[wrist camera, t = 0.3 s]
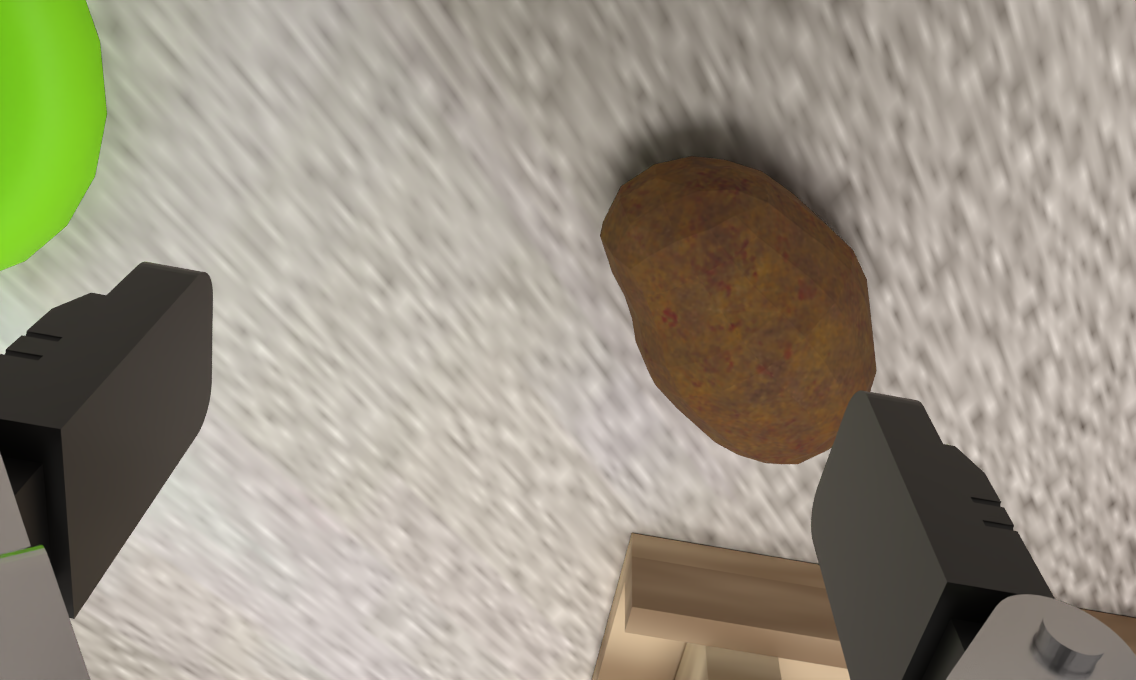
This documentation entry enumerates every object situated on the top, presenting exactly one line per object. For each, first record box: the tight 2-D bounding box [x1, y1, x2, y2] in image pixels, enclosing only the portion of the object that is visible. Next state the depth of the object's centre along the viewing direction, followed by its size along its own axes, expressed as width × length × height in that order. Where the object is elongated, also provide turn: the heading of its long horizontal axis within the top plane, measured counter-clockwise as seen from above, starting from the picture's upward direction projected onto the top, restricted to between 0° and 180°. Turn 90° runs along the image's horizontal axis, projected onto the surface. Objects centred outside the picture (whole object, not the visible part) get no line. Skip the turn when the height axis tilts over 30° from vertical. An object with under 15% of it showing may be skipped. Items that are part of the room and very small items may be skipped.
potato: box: [600, 156, 876, 464], centre depth 28 cm, size 7×10×6 cm
